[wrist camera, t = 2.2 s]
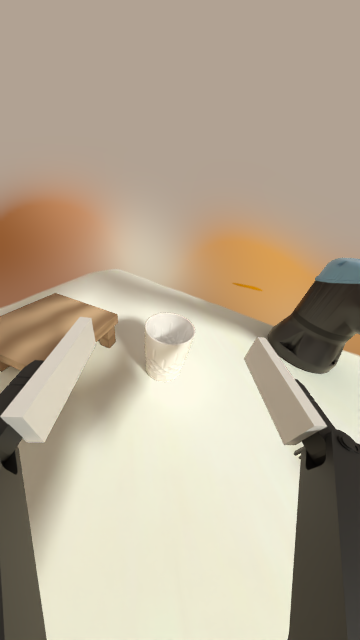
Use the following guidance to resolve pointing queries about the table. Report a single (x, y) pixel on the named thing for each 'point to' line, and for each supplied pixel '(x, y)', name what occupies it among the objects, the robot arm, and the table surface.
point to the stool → (48, 328)
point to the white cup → (167, 345)
